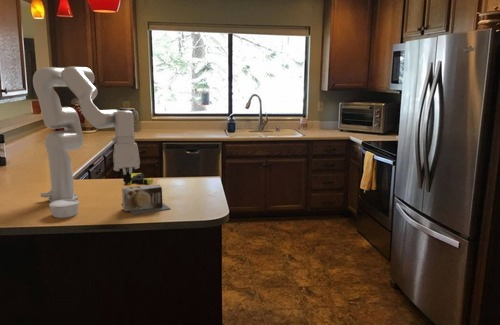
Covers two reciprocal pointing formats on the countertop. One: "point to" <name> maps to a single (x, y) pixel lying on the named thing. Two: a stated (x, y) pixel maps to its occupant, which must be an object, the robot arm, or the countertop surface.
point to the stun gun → (139, 179)
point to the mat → (149, 210)
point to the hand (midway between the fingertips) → (127, 182)
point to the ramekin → (64, 208)
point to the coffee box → (142, 197)
